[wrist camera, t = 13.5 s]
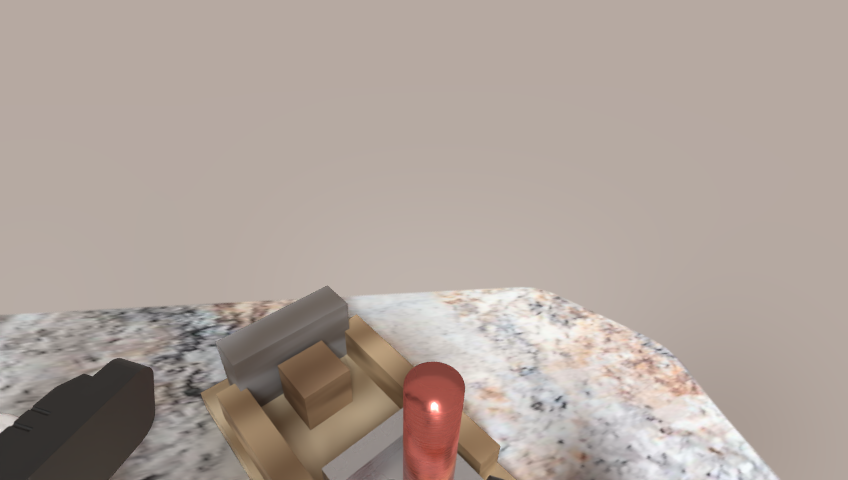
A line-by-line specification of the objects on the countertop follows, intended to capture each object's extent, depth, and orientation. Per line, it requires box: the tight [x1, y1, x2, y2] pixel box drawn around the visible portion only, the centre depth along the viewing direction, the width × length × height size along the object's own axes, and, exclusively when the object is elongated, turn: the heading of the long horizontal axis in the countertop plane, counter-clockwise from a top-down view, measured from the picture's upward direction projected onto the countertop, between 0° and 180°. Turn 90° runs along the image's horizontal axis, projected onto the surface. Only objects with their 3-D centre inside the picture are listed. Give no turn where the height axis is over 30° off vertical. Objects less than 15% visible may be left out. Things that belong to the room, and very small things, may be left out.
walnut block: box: [278, 340, 353, 430], centre depth 39 cm, size 4×4×4 cm
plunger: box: [322, 362, 484, 480], centre depth 29 cm, size 8×8×14 cm
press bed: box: [201, 286, 516, 480], centre depth 35 cm, size 26×14×8 cm, turn 42°
